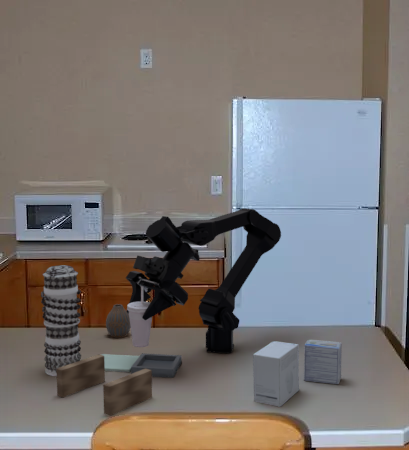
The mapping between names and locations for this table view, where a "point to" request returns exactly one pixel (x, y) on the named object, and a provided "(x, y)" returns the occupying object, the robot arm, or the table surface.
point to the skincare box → (276, 373)
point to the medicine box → (322, 361)
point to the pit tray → (158, 364)
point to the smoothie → (139, 322)
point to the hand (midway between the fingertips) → (135, 316)
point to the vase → (118, 321)
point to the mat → (119, 362)
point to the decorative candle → (61, 317)
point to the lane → (113, 391)
